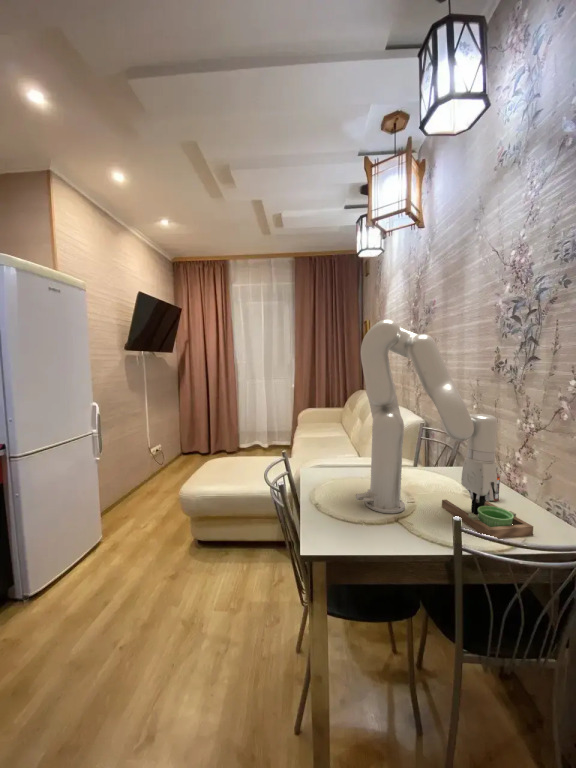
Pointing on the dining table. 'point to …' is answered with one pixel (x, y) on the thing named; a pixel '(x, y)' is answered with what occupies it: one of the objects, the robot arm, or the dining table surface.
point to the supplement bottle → (497, 488)
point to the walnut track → (500, 532)
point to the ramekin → (494, 516)
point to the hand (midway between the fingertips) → (477, 513)
